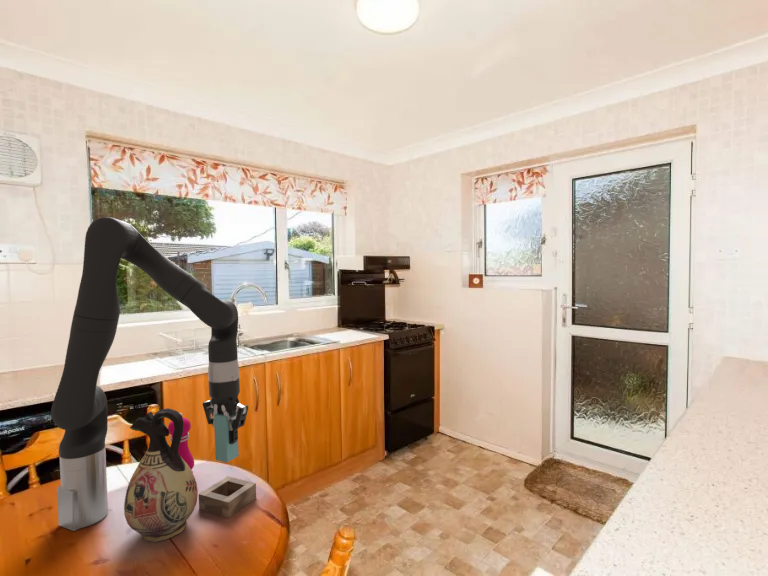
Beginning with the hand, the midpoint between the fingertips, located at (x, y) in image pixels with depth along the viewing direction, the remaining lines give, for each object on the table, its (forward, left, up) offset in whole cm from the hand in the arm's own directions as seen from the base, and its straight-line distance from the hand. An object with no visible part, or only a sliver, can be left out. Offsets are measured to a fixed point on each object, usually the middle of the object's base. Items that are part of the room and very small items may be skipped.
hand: (226, 441), depth 110 cm
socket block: (0, 0, -17) cm, 17 cm away
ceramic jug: (-15, +5, -17) cm, 23 cm away
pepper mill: (+4, +22, -17) cm, 28 cm away
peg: (0, 0, -4) cm, 4 cm away
